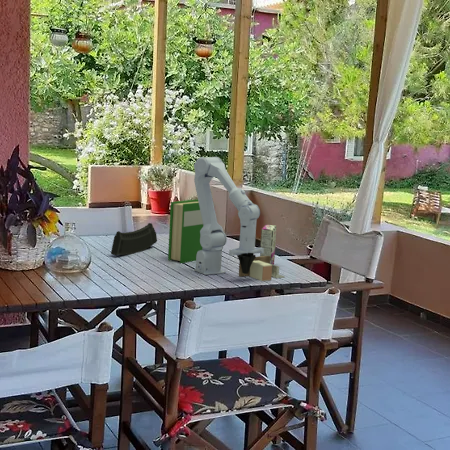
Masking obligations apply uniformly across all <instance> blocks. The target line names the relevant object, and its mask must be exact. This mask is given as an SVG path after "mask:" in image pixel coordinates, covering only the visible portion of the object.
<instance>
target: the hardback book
mask: <svg viewBox="0 0 450 450" xmlns="http://www.w3.org/2000/svg"><path fill="white" fill-rule="evenodd" d="M169 211H170V213H169V228H168V229H169V231H168V232H169V233H168V234H169V235H168V253H167V261H169V262H170V261H179V263H180V264H185V263H190V262H196V255H197V252H198V251H200V250H203V247H202V246H201V244H200V230H201V229H202V227H203V221H202V216H201V211H200V206H199V202H198V198H197V199H191V200H189V199H187V200H179V201H170V209H169Z"/></svg>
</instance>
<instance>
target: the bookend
mask: <svg viewBox="0 0 450 450" xmlns="http://www.w3.org/2000/svg"><path fill="white" fill-rule="evenodd" d="M268 264H270V263H268ZM271 265H272V275H271V278H274V279H283V278H286V277H285V275H281V274H280V266H279V265H276V264H274V265H273V264H271Z"/></svg>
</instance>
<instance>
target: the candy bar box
mask: <svg viewBox="0 0 450 450" xmlns="http://www.w3.org/2000/svg"><path fill="white" fill-rule="evenodd" d="M276 238H277V225H271V224H264V226H263V227H262V228H261V236H260V247H261V248H264V253H259V256H270V264H273V265H275V260H276V259H275V257H276V254H275V253H276V241H277V239H276Z"/></svg>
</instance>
